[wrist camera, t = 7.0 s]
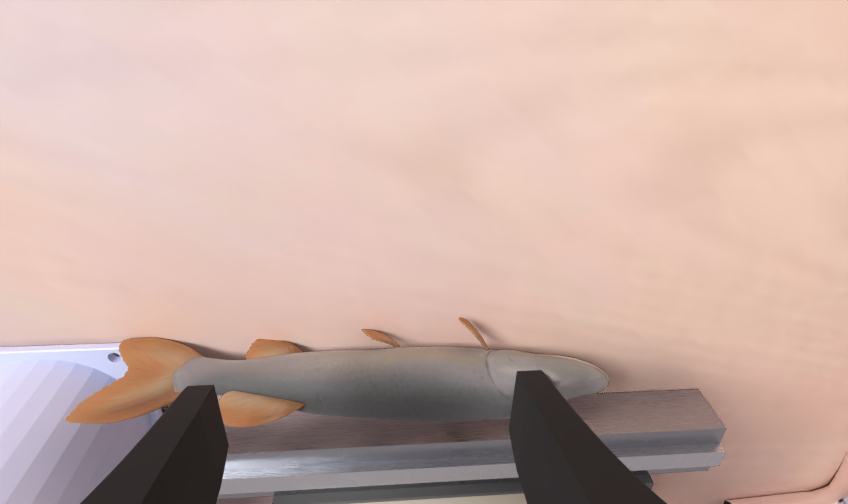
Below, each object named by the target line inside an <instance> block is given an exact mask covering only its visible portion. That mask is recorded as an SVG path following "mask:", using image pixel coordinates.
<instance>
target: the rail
mask: <svg viewBox="0 0 848 504" xmlns="http://www.w3.org/2000/svg"><path fill="white" fill-rule="evenodd" d="M566 401H567V402H568V403H569V404H570V405H571V407H572V408H573V409H574V410H575V411H576V413H577V414H578V415H579V416H580V417H581V418H582V420H583V421H584V422H585V423H586V424H587V425H588V426H589V427H590V429H591V430H592V431H593V432H594V433H595V434H596V435H597V436H598V437H599V439H600V440H601V441H602V442H603V443H604V444H605V445H606V446H607V447H608V448H609V449H610V450H611V451H612V453H613V454H614V455H615V456H616V457H617V458H618V459H619V460H620V461H621V462H622V463H623V464H624V465H625V466H626V467H627V468H628V469H629V470H630V471H631V472H632V473H633V474H635V475H641V474H658V473H675V472H692V471H708V469H709V467H710V466H720V463H721V461H722V459H723V457H724V455H725V452H726V451H725V450H724V448H723V447H722V445H721V444H720V441H721V439H722V437H723V434H724V432H725V430H726V427H725V426H724V424H723V423H722V422H721V420H720V419H719V417H718V416H717V415H716V413H715V412H714V410H713V409H712V408H711V406H710V405H709V404H708V402H707V401H706V399H705V398H704V397H703V395H702V394H701V392H700V391H699V390H698V389H689V390H667V391H646V392H624V393H602V394H589V395H581V396H578V397H574V398H571V399H568V400H566ZM509 424H510V418H509V419H483V420H478V421H460V422H421V421H405V420H391V419H378V418H354V417H340V416H329V415H319V414H311V413H306V412H301V411H294V412H292V413H290V414H288V415H286V416H285V417H283V418H281V419H279V420H277V421H274V422H271V423H269V424H264V425H258V426H252V427H231V426H228V425H225V424H224V427H225V431H226V435H227V439H228V443H229V447H228V452H227V458H226V463H225V469H224V474H223V479H222V484H221V488H220V492H219V495H218V498H217V499H228V498H245V497H262V496H280V495H297V494H314V493H331V492H348V491H366V490H383V489H400V488H417V487H434V486H452V485H469V484H486V483H503V482H520V480H519V476H518V473H517V470H516V465H515V460H514V455H513V450H512V445H511V439H510V434H509Z"/></svg>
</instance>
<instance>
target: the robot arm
mask: <svg viewBox="0 0 848 504" xmlns="http://www.w3.org/2000/svg"><path fill="white" fill-rule="evenodd" d="M120 344H121V343H105V344H77V345H49V346H22V347H0V504H216V501H217V498H218V495H219V492H220V488H221V484H222V479H223V474H224V469H225V463H226V458H227V452H228V447H229V443H228V439H227V435H226V431H225V427H224V423H223V419H222V415H221V411H220V407H219V403H218V399H217V395H216V391H215V387H214V385H197V386H187V387H186V388H185V389H184V390H183V391H182V392H181V393H180V394H179V395H178V397H177V398H176V399H175V400H174V401H173V402H172V404H171V405H170V406H169V407H168V408H167V410H166V411H165V412H164V413H162V410H161V408H160V409H158V410H156V411H153V412H150V413H148V414H145V415H142V416H139V417H136V418H133V419H129V420H125V421H120V422H116V423H108V424H84V423H68V422H66V417H67V416H69V415H70V412H72V411H73V410H74V409H76V406H77V405H78V404H79V403H81V402H83V401H84V400H85V399H86V398H88V397H90V396H92V395H93V394H94V393H96V392H98V391H100V390H101V389H102V388H103V387H106V386H109V385H110V384H111V383H113V382H115V381H117V380H118V379H120V378H122V377H124V375H125V372H127V371H128V369H127V368H128V366H127V365H126V363H125V362H124V361H123V358H122V357H121V356H116V355H114V354H113V353H116V354H118V355H120V352H119V345H120ZM509 434H510V439H511V445H512V450H513V455H514V460H515V465H516V470H517V473H518V476H519V480H520V483H521V486H522V489H523V492H524V495H525V499H526V502H527V504H666V503H665V502H664V501H663V500H662V499H661V498H660V497H658V496H657V495H656V494H655V493H654V492H653V491H652V490H651V489H649V488H648V487H647V486H646V485H645V484H644V483H643V482H642V481H641V480H640V479H639V478H638V477H637V476H636V475H635V474H633V473H632V472H631V471H630V470H629V469H628V468H627V467H626V466H625V465H624V464H623V463H622V462H621V461H620V460H619V459H618V458H617V457H616V456H615V455H614V454H613V453H612V451H611V450H610V449H609V448H608V447H607V446H606V445H605V444H604V443H603V442H602V441H601V440H600V439H599V437H598V436H597V435H596V434H595V433H594V432H593V431H592V430H591V429H590V427H589V426H588V425H587V424H586V423H585V422H584V421H583V420H582V418H581V417H580V416H579V415H578V414H577V413H576V411H575V410H574V409H573V408H572V407H571V405H570V404H569V403H568V402H567V401H566V399H565V398H564V397H563V396H562V394H561V393H560V392H559V391H558V389H557V388H556V387H555V386H554V384H553V383H552V382H551V381H550V379H549V378H548V377H547V376H546V374H545V373H544V372H543V371H542V370H530V371H517V373H516V380H515V388H514V395H513V402H512V409H511V417H510V424H509Z"/></svg>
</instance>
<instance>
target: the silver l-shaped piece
mask: <svg viewBox="0 0 848 504" xmlns="http://www.w3.org/2000/svg"><path fill="white" fill-rule="evenodd" d="M724 504H848V451H847V453H846V455H845V457H844V460H843V462H842V464H841V466H840V468H839V470H838V471H837V473H836V475H835V476H834V478H833V479H832V481H831V482H830V484H829V485H828V486H825V487H823V488H819V489H815V490H812V491H808V492H794V493H786V494H777V495H768V496H759V497H750V498H741V499H732V500H725V501H724Z"/></svg>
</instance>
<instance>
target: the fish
mask: <svg viewBox="0 0 848 504" xmlns="http://www.w3.org/2000/svg"><path fill="white" fill-rule="evenodd" d="M459 320H460V322H461V323H463V324H464V325H465V326H466V327H467V328H468V329H469V330H470V331H471V332H472V333H473V334H474V335H475V337H476V338H477V339H478V340H479V341H480V342H481V343H482V345H483V346H484V348H485V349H484V348H468V347H449V346H436V347H400V346H399V345H398V344H397V342H396V341H394V340H393V339H392V338H390V337H388V336H387V335H385V334H383V333H381V332H378V331H374V330H367V329H362V331H363V332H364V333H365V334H366V335H368V336H369V337H371V338H372V339H373V340H377V341H381V342H384V343H387V344H390V345H392V346H394V347H395V348H384V349H371V350H333V351H313V352H302V351H301V350H300V349H299V348H298V347H296V346H295V345H293V344H292V343H289V342H287V341H276V340H265V339H258V340H256V341H255V342H254V343H252V346H251V347H250V350H249V351H248V352H247V354H246V355H245V358H246V360H225V359H216V358H208V357H203V356H202V355H201V354H199V353H198V352H197V351H195V350H194V349H192V348H190V347H188V346H186V345H184V344H181V343H178V342H175V341H172V340H167V339H162V338H153V337H145V338H131V339H127V340H124V341H123V342H121V344H120V345H119V352H120V356H121V357H122V358H123V361H124V362H125V363H126V365H127V366H128V368H127V369H128V371H127V372H125V375H124V377H122V378H120V379H118V380H117V381H115V382H113V383H111V384H110V385H109V386H106V387H103V388H102V389H101V390H100V391H98V392H96V393H94V394H93V395H92V396H90V397H88V398H86V399H85V400H84V401H83V402H81V403H79V404H78V405H77V406H76V409H74V410H73V411H72V412H70V415H69V416H67V417H66V422H68V423H84V424H108V423H116V422H120V421H125V420H129V419H133V418H136V417H139V416H142V415H145V414H148V413H150V412H153V411H156V410H158V409H160V408H162V407H165V406H167V405H170V404H172V402H173V401H174V400H175V399H176V398H177V397H178V395H179V394H180V393H181V392H182V391H183V390H184V389H185V388H186V387H187V386H197V385H214V387H215V391H216V395H223V396H222V397H221V398H220V400H219V402H218V403H219V407H220V411H221V415H222V419H223V423H224V424H225V425H228V426H231V427H252V426H258V425H264V424H269V423H271V422H274V421H277V420H279V419H281V418H283V417H285V416H286V415H288V414H290V413H292V412H294V411H301V412H306V413H311V414H319V415H329V416H340V417H354V418H378V419H391V420H405V421H421V422H460V421H478V420H483V419H509V418H510V417H511V409H512V402H513V395H514V388H515V380H516V373H517V371H530V370H542V371H543V372H544V373H545V374H546V376H547V377H548V378H549V379H550V381H551V382H552V383H553V384H554V386H555V387H556V388H557V389H558V391H559V392H560V393H561V394H562V396H563V397H564V398H565V399H566V400H568V399H571V398H574V397H578V396H581V395H589V394H595V393H598V392H601V391H602V390H604V389H605V388H606V387H607V386H608V383H609V381H610V379H609V377H608V375H607V374H606V373H605V372H604V371H603V370H601V369H600V368H599V367H597V366H595V365H593V364H590V363H588V362H586V361H582V360H579V359H576V358H571V357H566V356H559V355H545V354H534V353H528V352H522V351H515V350H491V349H488V347H487V345H486V343H485V341H484V339H483V338H482V336H481V335H480V333H479V332H478V331H477V329H476V328H475V327H474V326H473V325H472V324H471V323H470V322H469V321H468V320H466V319H464V318H461V317H460V318H459Z"/></svg>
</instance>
